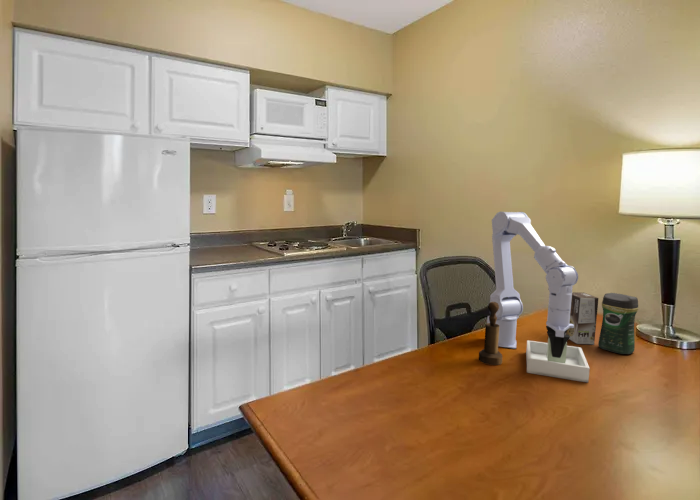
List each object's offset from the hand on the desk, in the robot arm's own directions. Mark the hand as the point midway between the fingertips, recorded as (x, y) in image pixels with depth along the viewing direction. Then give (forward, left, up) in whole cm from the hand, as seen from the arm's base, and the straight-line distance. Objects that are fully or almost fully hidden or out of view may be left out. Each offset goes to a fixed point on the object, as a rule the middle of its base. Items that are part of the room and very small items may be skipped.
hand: (555, 353), depth 119 cm
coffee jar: (+20, +24, -4) cm, 31 cm away
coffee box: (+10, +30, -4) cm, 32 cm away
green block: (0, 0, -2) cm, 2 cm away
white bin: (0, 0, -4) cm, 4 cm away
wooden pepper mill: (-17, -4, -4) cm, 18 cm away
